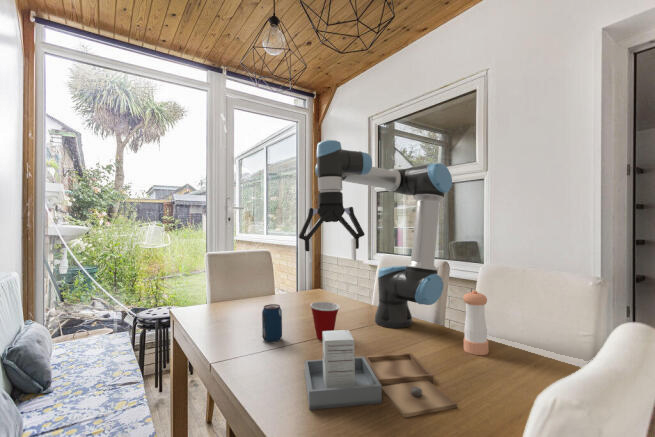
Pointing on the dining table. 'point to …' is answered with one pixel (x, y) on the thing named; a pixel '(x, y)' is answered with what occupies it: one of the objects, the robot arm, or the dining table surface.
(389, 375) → the walnut tray
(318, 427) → the dining table surface
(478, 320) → the pepper shaker
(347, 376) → the supplement box
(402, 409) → the tray lid
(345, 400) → the gray square tray
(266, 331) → the soda can
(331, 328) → the plastic cup
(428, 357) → the dining table surface
